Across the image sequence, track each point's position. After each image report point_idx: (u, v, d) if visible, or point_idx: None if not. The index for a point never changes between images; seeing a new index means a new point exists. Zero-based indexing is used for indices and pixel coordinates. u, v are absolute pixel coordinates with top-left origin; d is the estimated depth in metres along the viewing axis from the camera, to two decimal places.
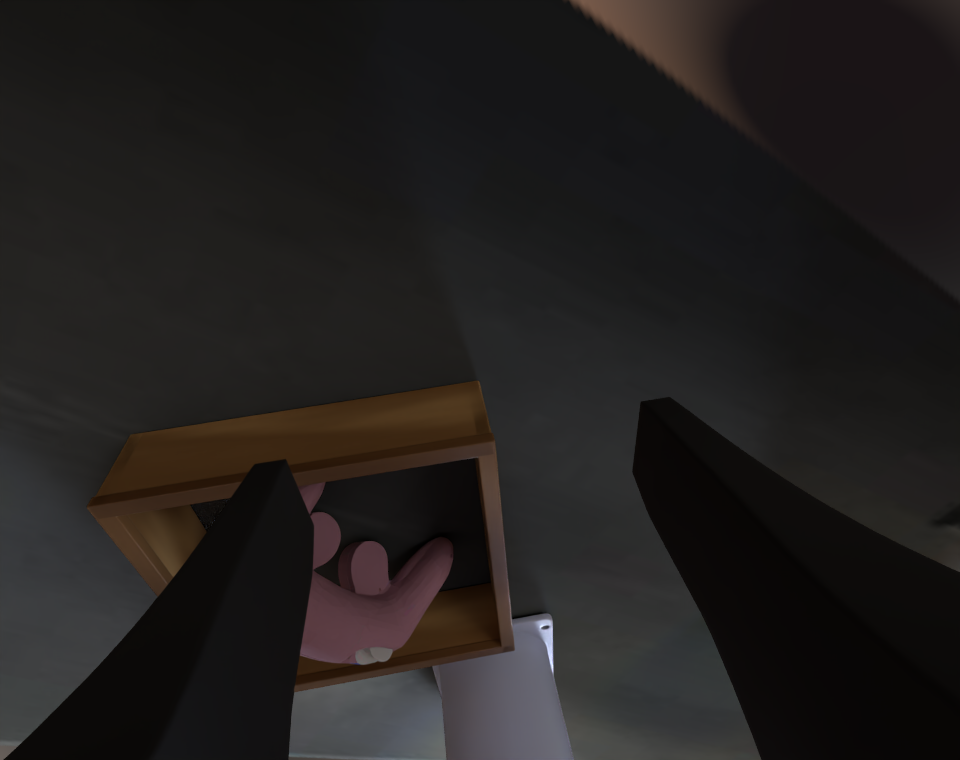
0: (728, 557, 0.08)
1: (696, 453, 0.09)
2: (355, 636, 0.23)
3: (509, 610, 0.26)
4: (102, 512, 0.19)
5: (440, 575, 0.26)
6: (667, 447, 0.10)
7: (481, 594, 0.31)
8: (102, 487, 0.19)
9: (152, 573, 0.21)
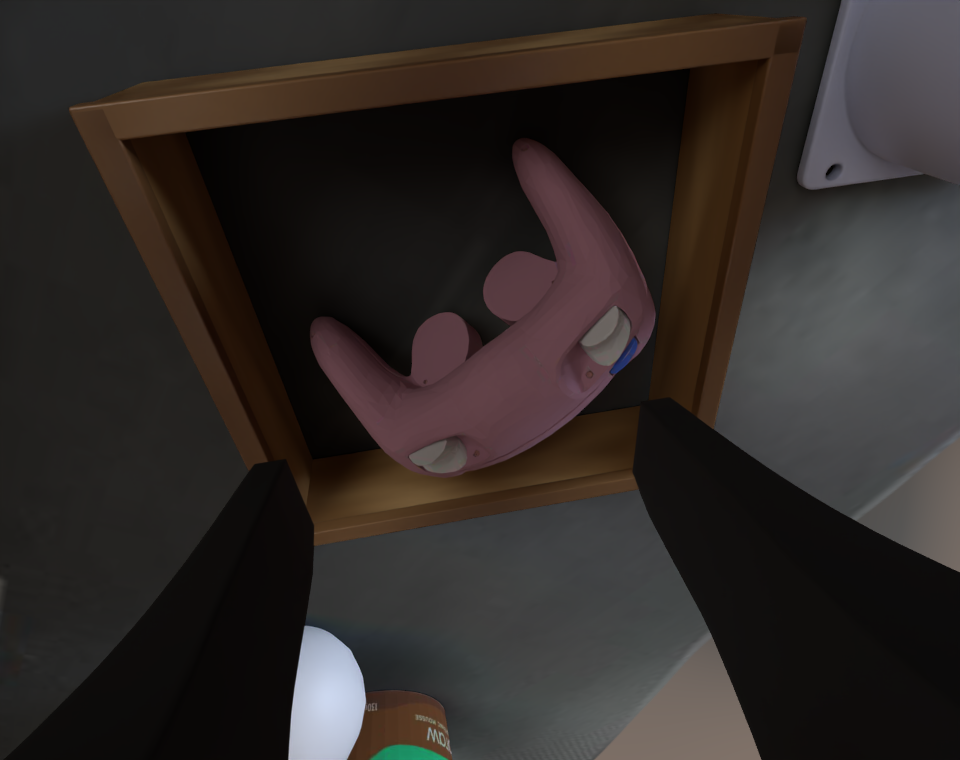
0: (728, 557, 0.08)
1: (696, 453, 0.09)
2: (524, 367, 0.14)
3: (625, 44, 0.11)
4: None
5: (540, 181, 0.14)
6: (666, 447, 0.10)
7: (700, 71, 0.15)
8: None
9: (398, 523, 0.19)
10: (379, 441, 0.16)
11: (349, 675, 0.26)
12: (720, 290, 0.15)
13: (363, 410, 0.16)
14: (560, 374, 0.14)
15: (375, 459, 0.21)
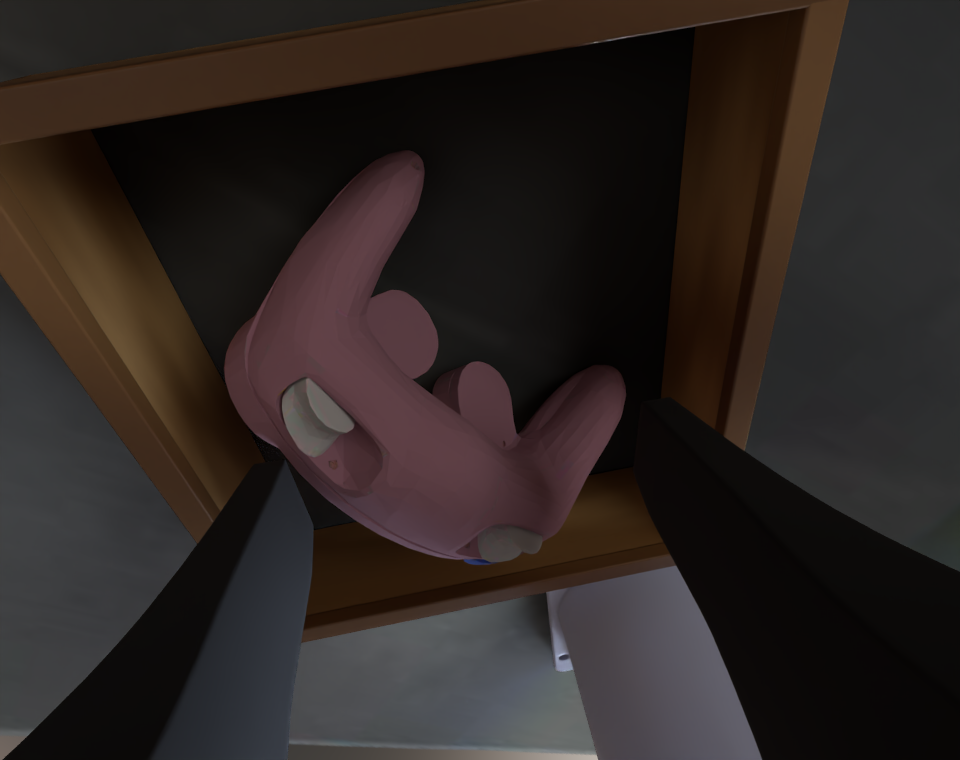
0: (729, 557, 0.08)
1: (697, 453, 0.09)
2: (489, 494, 0.12)
3: None
4: None
5: (611, 415, 0.15)
6: (667, 446, 0.10)
7: None
8: None
9: (78, 343, 0.10)
10: (308, 320, 0.10)
11: None
12: (519, 581, 0.17)
13: (344, 279, 0.10)
14: None
15: (131, 233, 0.12)
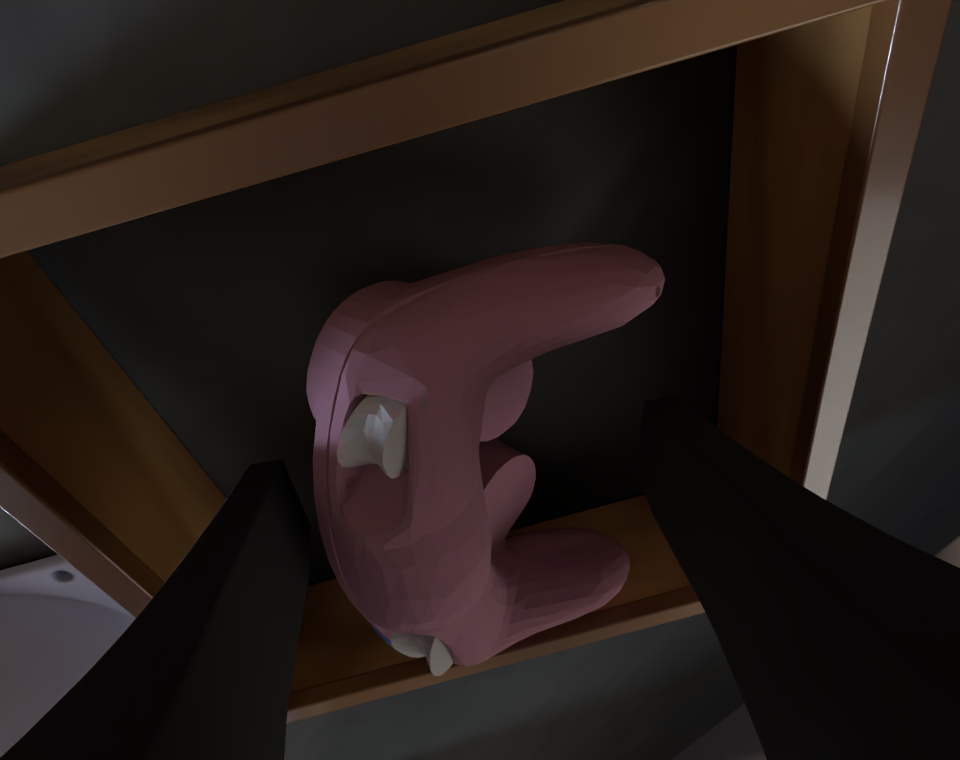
0: (733, 556, 0.08)
1: (701, 452, 0.09)
2: (453, 615, 0.10)
3: (407, 690, 0.15)
4: None
5: (595, 601, 0.14)
6: (671, 446, 0.10)
7: None
8: None
9: (633, 54, 0.06)
10: (453, 356, 0.08)
11: None
12: None
13: (514, 344, 0.09)
14: None
15: None
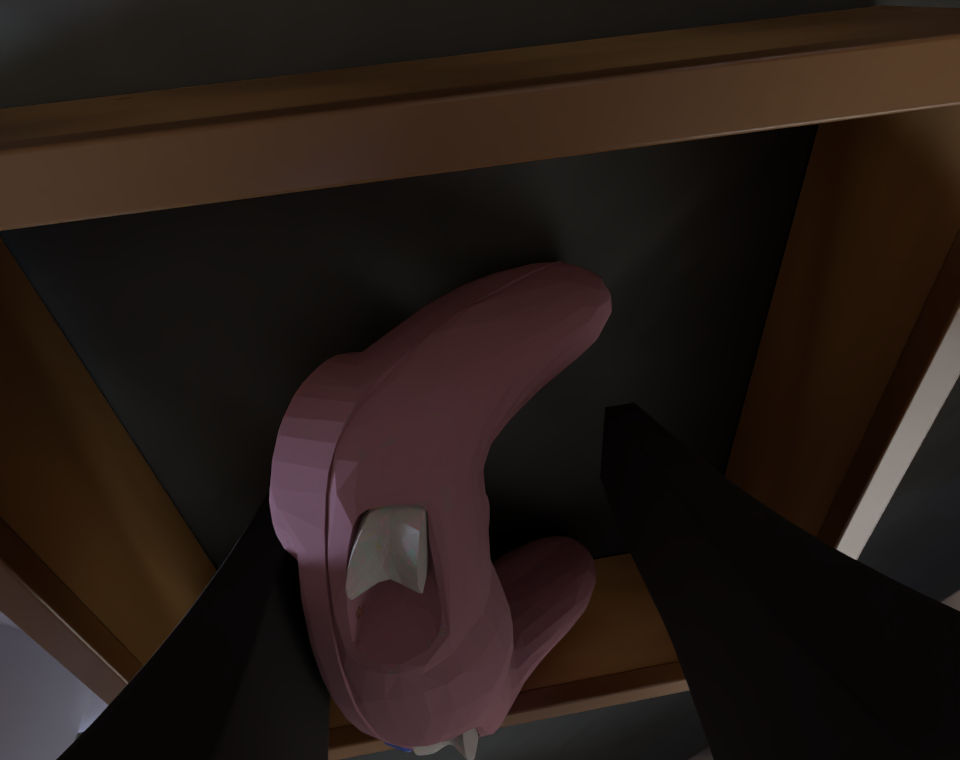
0: (683, 565, 0.08)
1: (654, 460, 0.09)
2: (494, 698, 0.09)
3: (365, 753, 0.13)
4: None
5: (579, 608, 0.14)
6: (628, 453, 0.10)
7: None
8: None
9: (782, 107, 0.06)
10: (462, 435, 0.07)
11: None
12: (97, 644, 0.09)
13: (512, 399, 0.08)
14: None
15: None
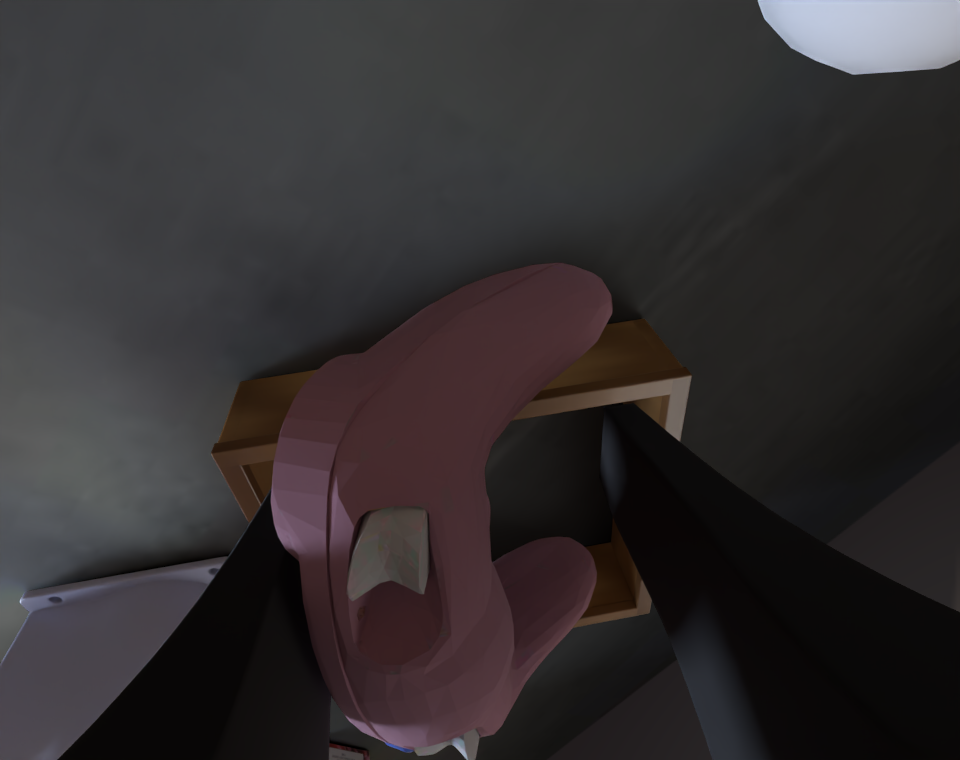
0: (682, 565, 0.08)
1: (652, 460, 0.09)
2: (495, 700, 0.09)
3: None
4: (679, 385, 0.17)
5: (580, 609, 0.14)
6: (627, 453, 0.10)
7: None
8: (672, 358, 0.18)
9: (570, 406, 0.17)
10: (463, 436, 0.07)
11: None
12: None
13: (513, 401, 0.08)
14: None
15: None
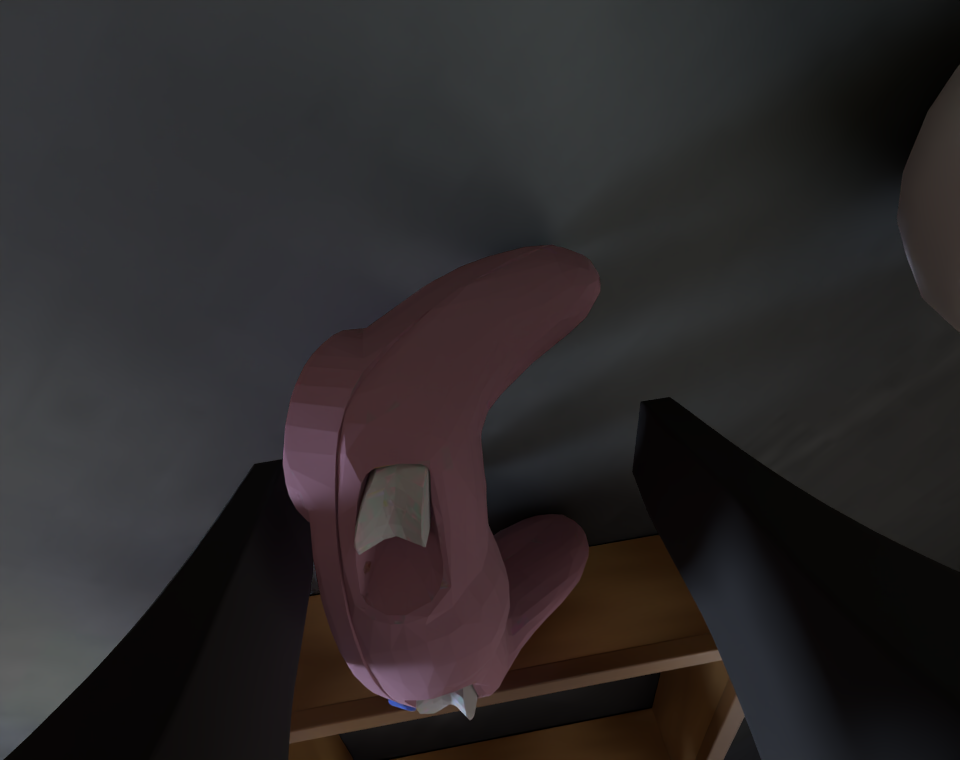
0: (728, 557, 0.08)
1: (696, 453, 0.09)
2: (492, 655, 0.10)
3: None
4: None
5: (573, 580, 0.14)
6: (666, 447, 0.10)
7: None
8: None
9: (637, 673, 0.14)
10: (461, 400, 0.08)
11: (946, 279, 0.09)
12: None
13: (507, 369, 0.08)
14: None
15: None
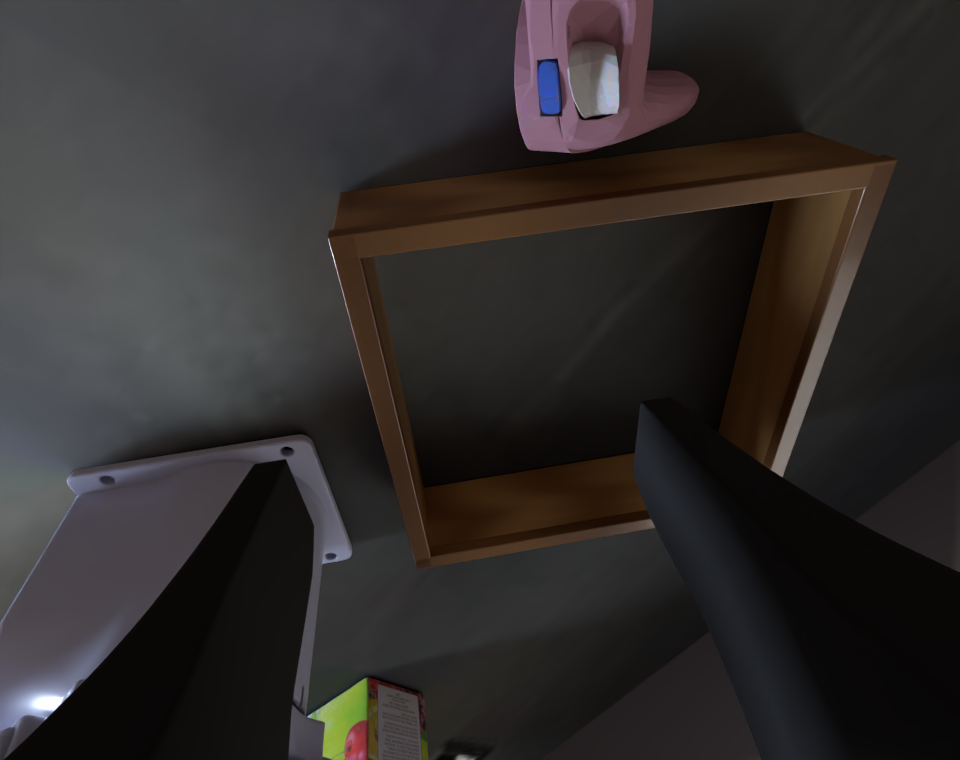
0: (728, 557, 0.08)
1: (696, 453, 0.09)
2: None
3: (512, 552, 0.22)
4: (880, 175, 0.15)
5: (689, 94, 0.14)
6: (666, 447, 0.10)
7: (423, 488, 0.24)
8: (863, 151, 0.15)
9: (751, 196, 0.14)
10: None
11: None
12: (407, 453, 0.18)
13: None
14: None
15: None
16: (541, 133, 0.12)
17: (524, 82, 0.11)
